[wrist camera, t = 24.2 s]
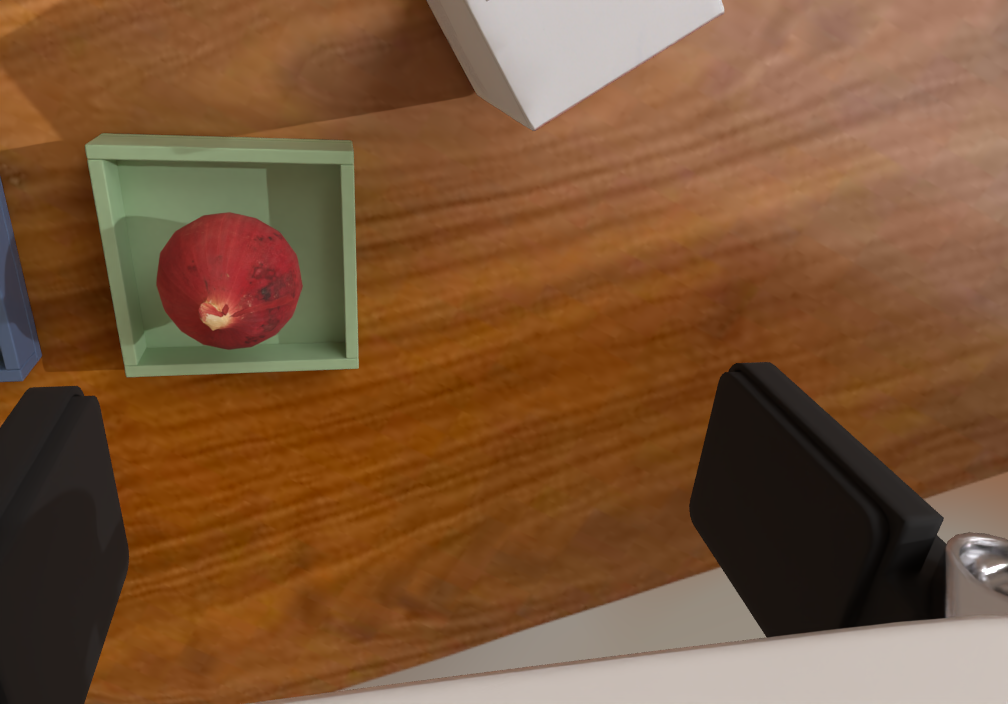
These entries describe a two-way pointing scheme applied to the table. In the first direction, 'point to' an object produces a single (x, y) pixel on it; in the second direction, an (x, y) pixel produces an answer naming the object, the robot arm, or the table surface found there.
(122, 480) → the table surface
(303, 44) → the table surface
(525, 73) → the small box
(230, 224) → the onion
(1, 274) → the slate tray
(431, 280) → the table surface
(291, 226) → the green tray
